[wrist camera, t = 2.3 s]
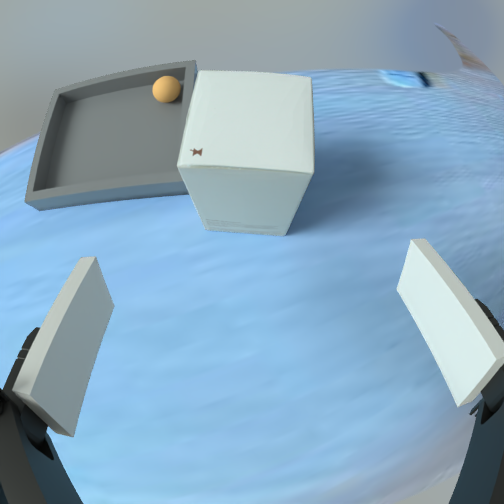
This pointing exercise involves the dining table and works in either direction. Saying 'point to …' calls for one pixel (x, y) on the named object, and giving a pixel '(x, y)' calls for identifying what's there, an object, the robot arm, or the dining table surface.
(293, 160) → the supplement box
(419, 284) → the robot arm
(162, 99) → the ball
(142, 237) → the dining table surface
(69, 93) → the tray
